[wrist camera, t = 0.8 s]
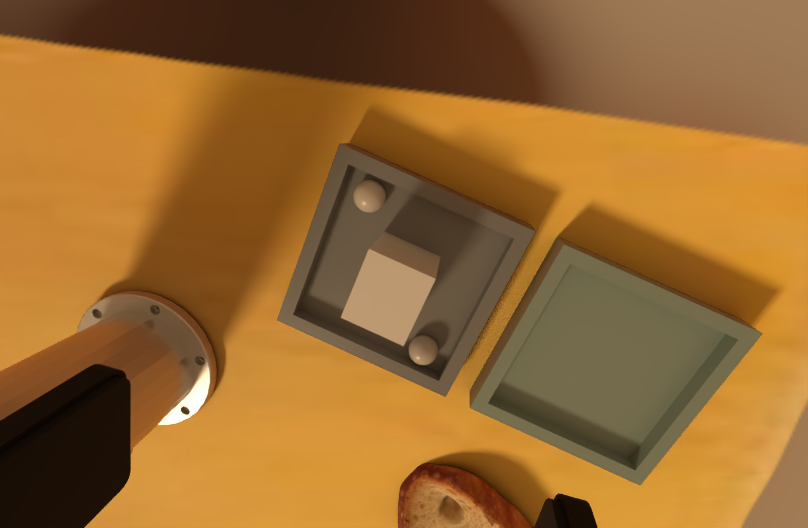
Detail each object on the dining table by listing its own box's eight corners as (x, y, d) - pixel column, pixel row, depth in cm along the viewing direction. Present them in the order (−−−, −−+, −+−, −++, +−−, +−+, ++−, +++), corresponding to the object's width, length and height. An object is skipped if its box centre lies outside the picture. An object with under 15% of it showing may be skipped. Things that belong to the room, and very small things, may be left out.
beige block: (412, 314, 32) (403, 346, 27) (359, 290, 32) (340, 317, 27) (440, 256, 30) (435, 279, 25) (384, 231, 30) (368, 248, 25)
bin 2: (629, 463, 34) (640, 485, 32) (469, 391, 34) (469, 407, 32) (741, 319, 29) (762, 333, 27) (557, 236, 30) (563, 244, 27)
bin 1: (446, 380, 34) (445, 400, 31) (288, 308, 34) (274, 323, 32) (530, 225, 30) (536, 233, 27) (348, 143, 30) (337, 143, 27)
